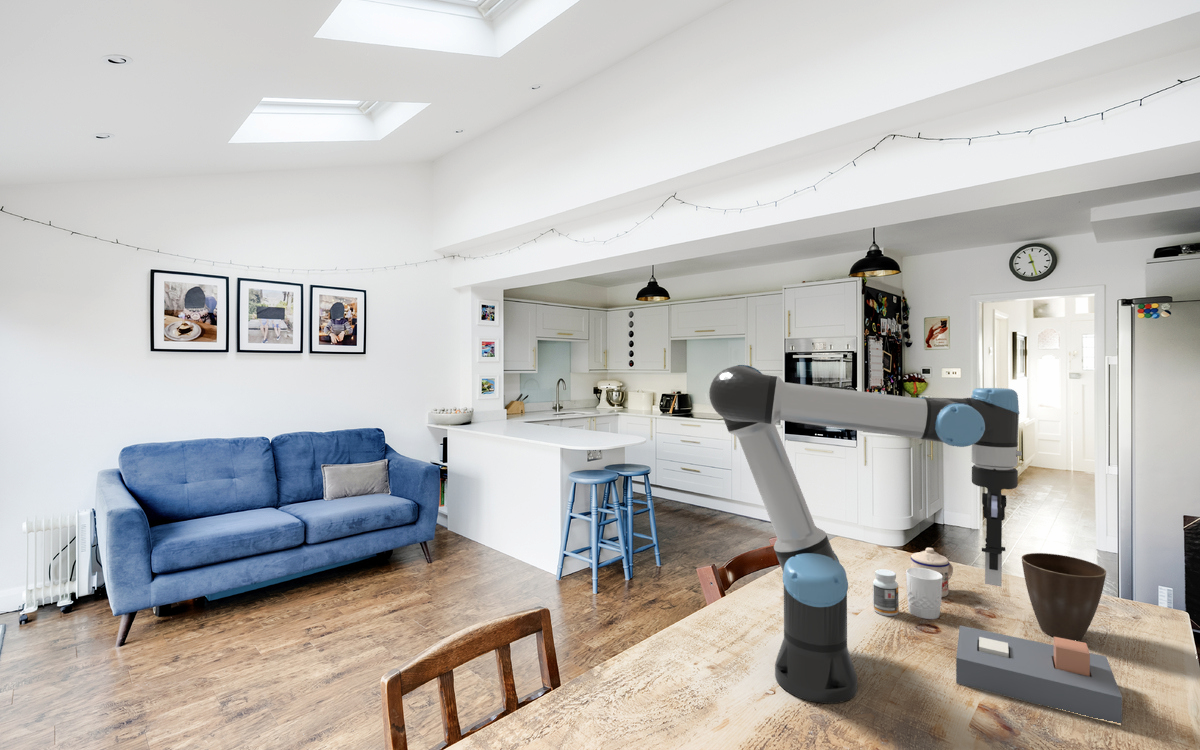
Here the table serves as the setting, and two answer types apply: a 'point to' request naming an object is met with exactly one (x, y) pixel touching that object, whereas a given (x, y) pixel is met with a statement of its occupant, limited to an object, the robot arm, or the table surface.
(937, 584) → the white cup
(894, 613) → the pill bottle
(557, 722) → the table surface
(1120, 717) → the socket block
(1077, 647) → the terracotta plug
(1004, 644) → the ivory plug
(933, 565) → the teacup with lid
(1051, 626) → the plant pot
